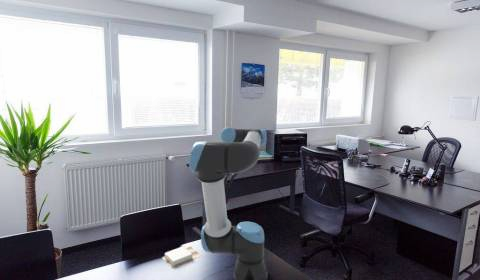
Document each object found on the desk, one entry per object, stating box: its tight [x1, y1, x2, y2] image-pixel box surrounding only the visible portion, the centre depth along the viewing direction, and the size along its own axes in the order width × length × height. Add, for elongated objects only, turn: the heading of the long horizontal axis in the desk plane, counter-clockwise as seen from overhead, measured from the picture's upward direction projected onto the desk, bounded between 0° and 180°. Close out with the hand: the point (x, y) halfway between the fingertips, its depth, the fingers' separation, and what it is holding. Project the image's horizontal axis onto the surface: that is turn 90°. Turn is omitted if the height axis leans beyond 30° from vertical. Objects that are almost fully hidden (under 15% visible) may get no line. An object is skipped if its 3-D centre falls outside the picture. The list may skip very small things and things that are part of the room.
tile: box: [164, 245, 192, 266], centre depth 144 cm, size 9×2×10 cm
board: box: [161, 246, 203, 269], centre depth 145 cm, size 11×16×1 cm
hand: (218, 202), depth 154 cm, fingers closed
